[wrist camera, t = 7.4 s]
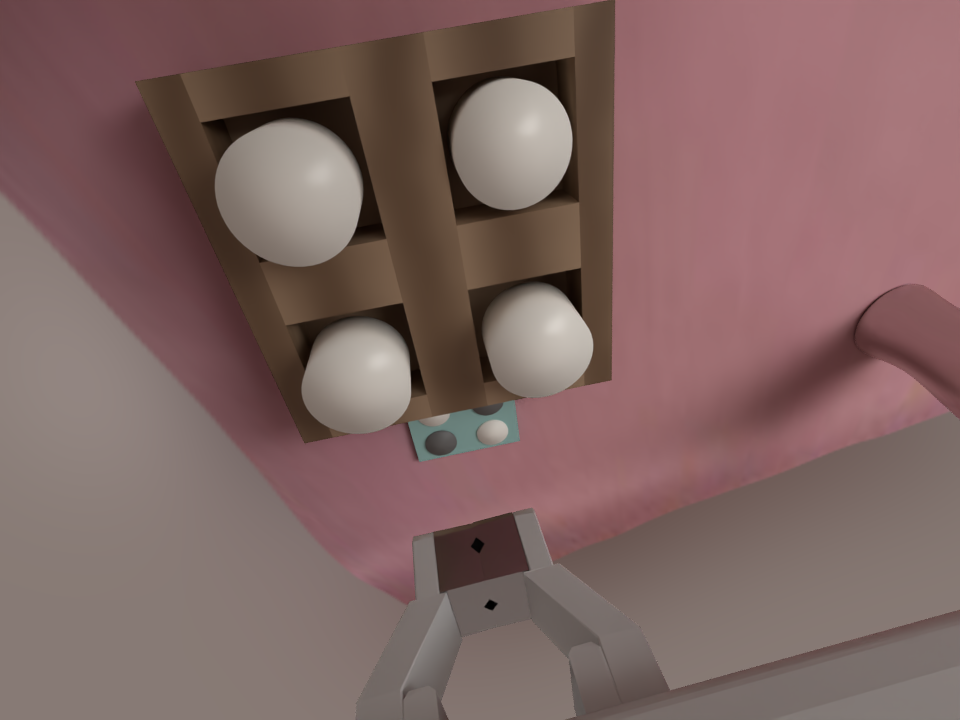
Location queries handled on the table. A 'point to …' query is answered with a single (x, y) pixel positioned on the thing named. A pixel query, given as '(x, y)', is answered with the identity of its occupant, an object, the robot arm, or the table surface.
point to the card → (465, 431)
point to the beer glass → (916, 339)
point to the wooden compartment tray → (414, 196)
